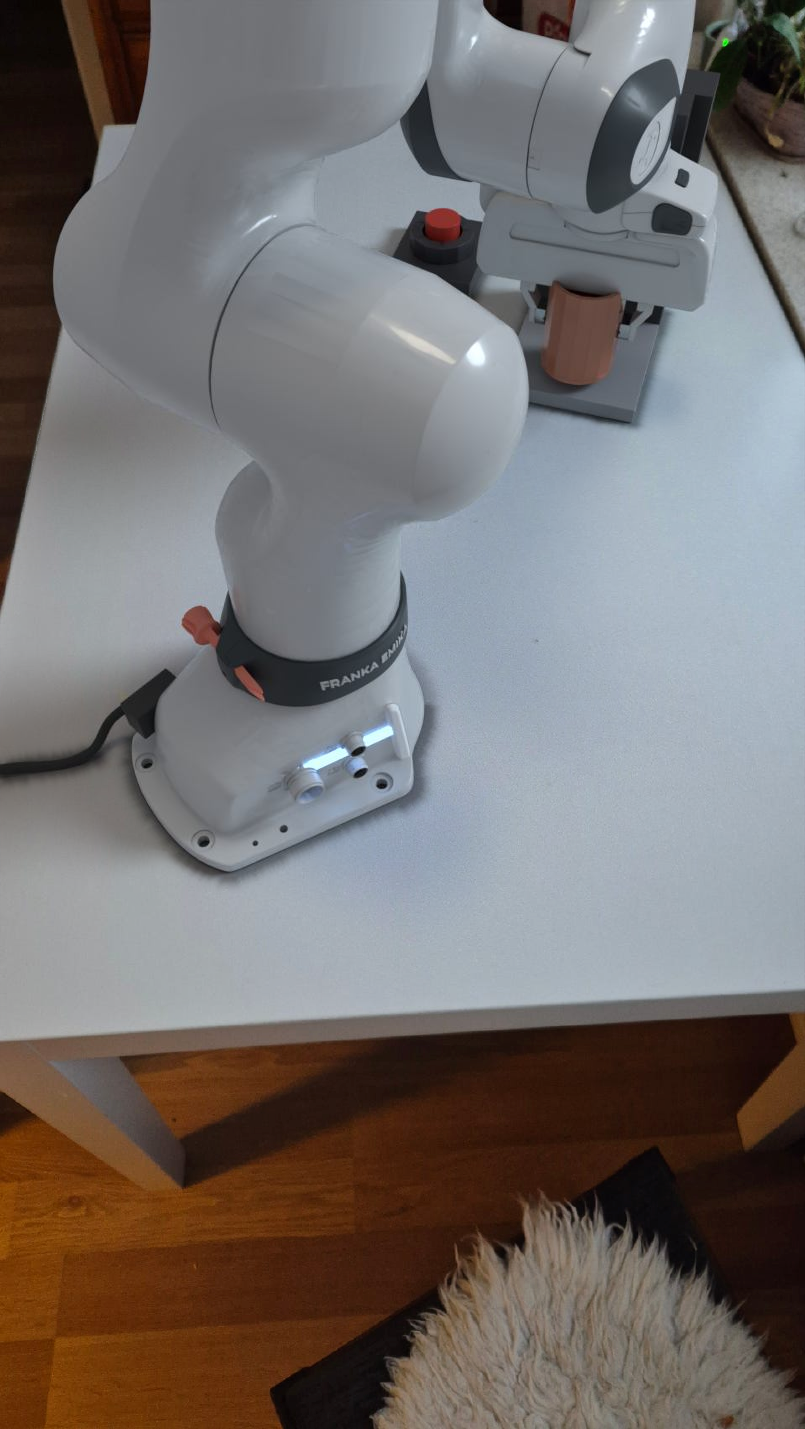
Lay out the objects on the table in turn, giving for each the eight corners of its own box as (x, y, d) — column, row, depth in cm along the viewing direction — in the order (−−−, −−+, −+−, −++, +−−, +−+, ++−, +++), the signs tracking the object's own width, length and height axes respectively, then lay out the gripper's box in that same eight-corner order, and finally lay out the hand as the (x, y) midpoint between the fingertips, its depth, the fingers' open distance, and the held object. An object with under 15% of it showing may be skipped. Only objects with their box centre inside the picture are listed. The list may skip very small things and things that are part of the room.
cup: (573, 395, 93) (588, 310, 85) (525, 356, 96) (535, 271, 88) (627, 365, 95) (646, 280, 88) (578, 329, 98) (592, 243, 90)
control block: (468, 303, 104) (470, 268, 101) (385, 288, 106) (384, 253, 103) (495, 243, 110) (498, 207, 107) (416, 229, 112) (416, 194, 108)
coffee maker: (632, 423, 95) (688, 183, 75) (497, 396, 97) (518, 156, 77) (663, 313, 103) (720, 73, 84) (539, 290, 105) (567, 51, 86)
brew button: (454, 246, 104) (454, 230, 102) (420, 240, 104) (420, 224, 103) (463, 227, 106) (464, 211, 104) (430, 221, 106) (431, 205, 105)
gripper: (471, 181, 81) (464, 328, 93) (727, 223, 78) (686, 371, 89) (491, 140, 84) (482, 287, 96) (738, 179, 81) (697, 327, 92)
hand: (582, 328), depth 93 cm, fingers closed on cup, 7 cm apart
